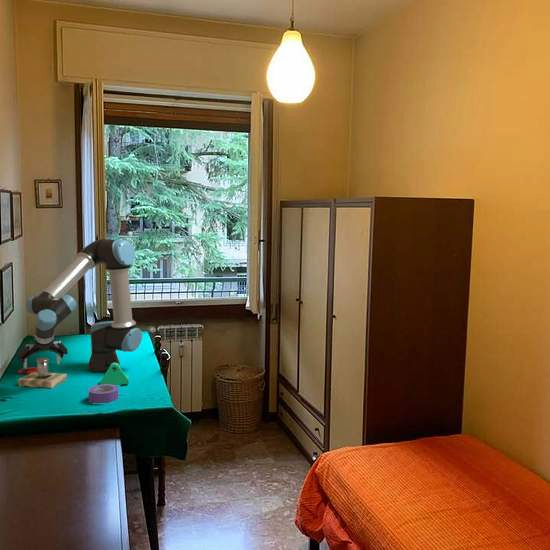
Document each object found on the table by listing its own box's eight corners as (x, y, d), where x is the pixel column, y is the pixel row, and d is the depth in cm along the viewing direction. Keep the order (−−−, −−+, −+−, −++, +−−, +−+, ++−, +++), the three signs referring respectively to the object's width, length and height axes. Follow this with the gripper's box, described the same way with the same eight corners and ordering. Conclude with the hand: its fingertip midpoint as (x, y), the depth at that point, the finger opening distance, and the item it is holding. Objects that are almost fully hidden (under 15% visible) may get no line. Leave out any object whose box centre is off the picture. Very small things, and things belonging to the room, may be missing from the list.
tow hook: (27, 369, 267) (16, 373, 258) (27, 343, 267) (15, 347, 257) (43, 370, 266) (32, 375, 257) (43, 344, 265) (32, 348, 256)
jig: (66, 380, 249) (66, 374, 249) (51, 388, 238) (51, 382, 237) (35, 378, 252) (35, 371, 252) (18, 386, 240) (18, 379, 240)
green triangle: (129, 381, 250) (128, 359, 249) (128, 386, 243) (128, 363, 242) (102, 382, 248) (101, 360, 247) (100, 387, 240) (99, 365, 239)
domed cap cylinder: (52, 381, 247) (51, 358, 246) (45, 385, 242) (44, 361, 241) (41, 380, 248) (40, 357, 247) (34, 384, 243) (33, 360, 242)
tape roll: (124, 400, 225) (123, 388, 225) (98, 407, 216) (98, 395, 216) (108, 393, 233) (108, 382, 232) (83, 400, 224) (83, 388, 224)
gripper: (11, 348, 218) (11, 374, 233) (76, 341, 230) (72, 366, 245) (10, 332, 222) (10, 359, 237) (74, 326, 234) (70, 352, 249)
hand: (42, 363), depth 241 cm, fingers open, 13 cm apart
